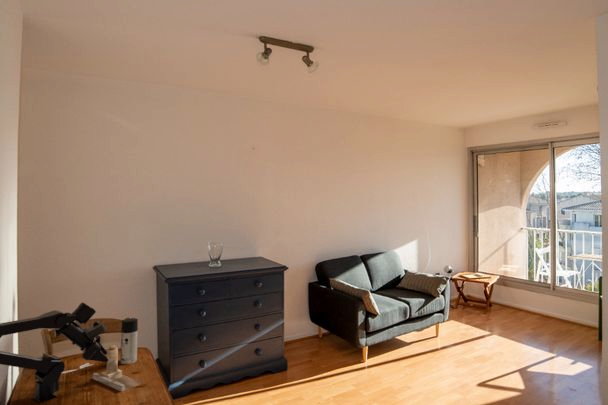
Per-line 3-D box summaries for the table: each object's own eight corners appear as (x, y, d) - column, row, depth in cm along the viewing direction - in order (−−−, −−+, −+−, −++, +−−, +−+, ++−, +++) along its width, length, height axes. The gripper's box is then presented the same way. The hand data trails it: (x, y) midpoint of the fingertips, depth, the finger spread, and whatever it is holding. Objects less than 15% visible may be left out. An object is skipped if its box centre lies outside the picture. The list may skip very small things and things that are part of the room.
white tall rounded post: (108, 381, 153) (109, 349, 153) (101, 378, 156) (102, 347, 156) (121, 376, 158) (122, 345, 158) (115, 374, 161) (115, 343, 161)
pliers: (50, 374, 161) (83, 361, 174) (50, 378, 161) (83, 365, 174) (65, 378, 157) (98, 365, 170) (65, 382, 157) (98, 368, 170)
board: (121, 395, 145) (121, 386, 145) (92, 382, 156) (92, 373, 156) (142, 386, 152) (143, 377, 153) (114, 374, 163) (114, 366, 163)
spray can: (120, 362, 176) (121, 318, 177) (136, 360, 179) (137, 317, 179) (120, 368, 170) (121, 322, 171) (137, 365, 173) (138, 320, 173)
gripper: (93, 323, 146) (124, 347, 151) (92, 312, 162) (121, 334, 167) (68, 348, 142) (101, 372, 147) (70, 333, 158) (100, 356, 163)
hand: (107, 357), depth 156 cm, fingers open, 9 cm apart
